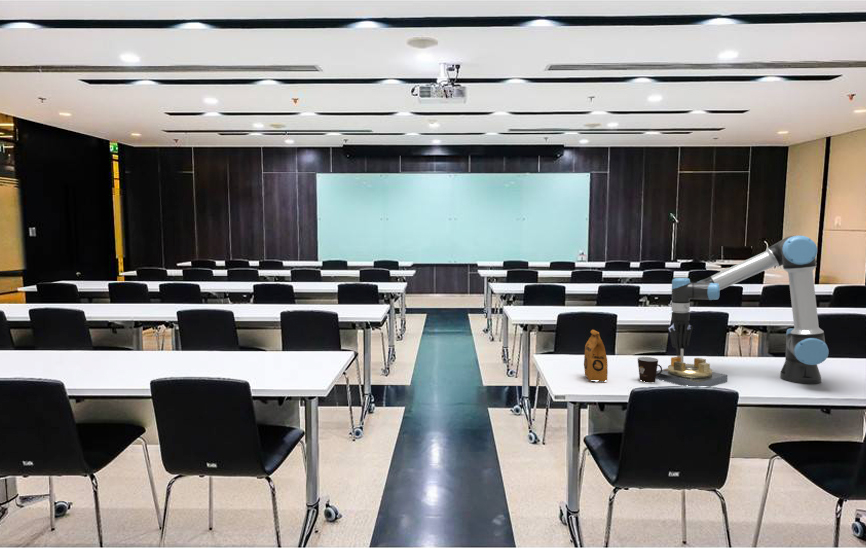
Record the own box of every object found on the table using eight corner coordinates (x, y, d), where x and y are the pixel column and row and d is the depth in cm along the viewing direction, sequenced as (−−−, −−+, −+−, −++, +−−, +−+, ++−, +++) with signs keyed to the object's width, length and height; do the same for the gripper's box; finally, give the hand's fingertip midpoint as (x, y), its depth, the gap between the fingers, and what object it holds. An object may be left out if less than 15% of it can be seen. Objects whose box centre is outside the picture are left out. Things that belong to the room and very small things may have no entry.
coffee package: (586, 382, 239) (586, 333, 237) (582, 375, 251) (583, 329, 250) (609, 383, 237) (610, 334, 236) (604, 376, 250) (605, 329, 248)
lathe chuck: (707, 369, 248) (708, 357, 247) (716, 379, 230) (716, 366, 230) (665, 366, 253) (665, 355, 252) (670, 376, 236) (670, 364, 235)
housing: (727, 381, 238) (727, 374, 238) (698, 389, 227) (698, 382, 227) (681, 371, 257) (681, 364, 257) (652, 378, 245) (652, 371, 245)
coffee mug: (634, 378, 245) (634, 356, 244) (653, 378, 245) (653, 356, 244) (643, 385, 233) (644, 362, 233) (663, 385, 233) (664, 362, 233)
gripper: (675, 313, 241) (674, 365, 243) (698, 311, 245) (697, 362, 246) (663, 311, 248) (663, 361, 250) (685, 309, 252) (685, 359, 254)
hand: (680, 362), depth 248 cm, fingers closed
